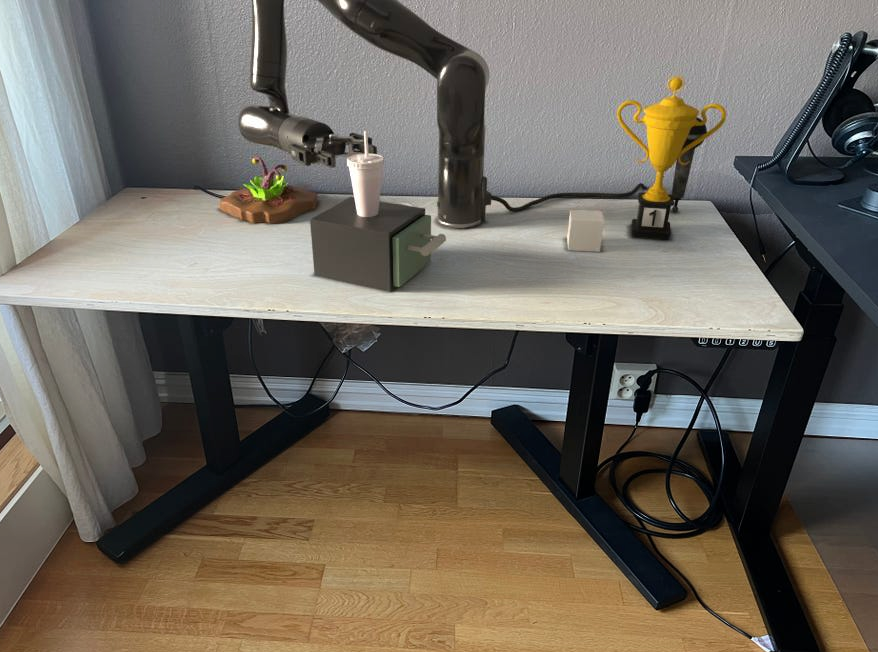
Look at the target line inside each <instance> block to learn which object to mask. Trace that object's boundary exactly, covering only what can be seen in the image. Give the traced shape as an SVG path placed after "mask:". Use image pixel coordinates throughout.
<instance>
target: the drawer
mask: <svg viewBox="0 0 878 652" xmlns="http://www.w3.org/2000/svg"><path fill="white" fill-rule="evenodd" d="M446 241H447V236H446V235H445V234H444V233H439V234H438V235H434V234H432V215H429V214H425V215H424V216H423V217H421V218H420V219H418V220H417V219H415V220H414V221H412V222H411V223H410V224H408V225H407V226H405V227H404V228H402V229H401V230H399V231H398V232H397V233H395V234H394V235H392V236H391V248H392V278H393V286H396V287H395V288H400V287H402V286H403V285H404V284H405V283H407V281H409V280H410V279H411V278H413V277H414V276H415V275H416V274H417V273H419V272H420V271H421V270H422V269H424V268H425V267H426V266H427V265H429V264H430V263H431V262H432V252H434V251H435V250H437V249H438V248H439V247H440V246H442V245H443V244H444V243H445V242H446Z"/></svg>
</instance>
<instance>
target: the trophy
mask: <svg viewBox="0 0 878 652" xmlns="http://www.w3.org/2000/svg"><path fill="white" fill-rule="evenodd" d="M685 84H686V81H685V79H684V77H683V76H681V75H673V76H672V77H670V78H669V79H668V80H667V85H666V86H667V89H668V90H669V91H670V92H671V93H673V94H672V95H671V96H666V97H664V98H663V99H662V100H661V101H660V102H656V103H653V104H650V105H647V106H645V107H644V108H643V107H642V105H641V103H640V102H639V101H637V100H632V99H631V100H626V101H623V102H622V103H621V104H620V105H619V106H618V108H617V111H616V117H617V121H618V123H619V125H620V127H621V128H622V130H624V132H625V133H626V134H627V135H628V136H629V137H630V138H631V139H632V140H633V141H634V142H635V143H636V144H637V145H638V146H639V147H640V148H642V149H643V151H644V153H646V156H645V158H644V159H641V160H640V159H639V158H638V157H636V161H637V162H638V163H644V162H646V161H648V160H649V163H650V165H651V167H652V168H654V170H655V171H656V175H655V181H654V183H653V185H652V186H651V187H649V188H648V189H647V190H646V191H641V192H638V194H637V202H638V209H637V215H636V218H632V220H631V223H630V224H631V225H630V236H631V237H632V238H636V239H637V238H638V239H647V240H648V239H649V240H662V241H669V240H671V234H672V229H671V222H670V221H669V220H670V219H669V218H670V213H671V210H672V207H673V206H674V203H675V200H674V198H673V195H671V194H672V193H668V192H667V189H666V188H665V187H664V184H663V183H664V178H665V176H664V173H665V172H667V171H669V169H671V168H673V166H674V165H676V161H677V158H678V162H679V163H680V164H682V165H686V164H688V163H689V162H690V161H689V162H687V163H683V162H681V161H680V157H681V155H682V154H683V153H684V152H686V151H687V150H689V149H691V148H692V147H694V146H695V145H697V144H699V143H700V142H702V141H703V140H704V141H705V140H706V139H708V138H709V137H711V136H712V135H714V133H716V132H718V130H719V129H720V128H722V126H723V125H724V123H725V122H726V118H727V112H726V111H727V110H726V109H725V107H724V106H723V105H722V104H719V103H710V104H707V105H705V106H704V107H703V108H702V109H701V112H700V110H698V108H696V107H694V106H693V105H689V104H687V103H685V101H684V99H683V98H681V97H678V96H676V93H679V92H681V91H682V90H683V88H684V87H685ZM627 106H634V107H636V108H637V111H636V112H635V114H634V115H633V117H632V118H633V121H634V122H635V123H637V124H644V126H645V127H646V133H647V135H646V136H647V145H646V144H645V143H644V142H643V141H642V140H641V139H640V138H639V137H638V136H637V134H635V133H634V132H633V131H632V129H630V127H629V126H628V125H627V124H626V123H625V121H624V120H623V118H622V110H624V108H626V107H627ZM709 109H716V110H718V111H719V112H720V113H721V118H720V120H719V122H718V123H716V125H715V126H714V127H713V128H711V129H710V130H709V131H708V130H707V133H706V134H704V135H703V136H701V137H700V138H698V139H697V140H695V141H694V142H692V143H691V144H689V145H688V146H686V147H685V148H684V149H682V147H683V145H684V143H685V141H686V138H687V136H688V134H689V132H690V129H691V128H692V127H693V126H702V125H704V124H705V125H706V124H707V122H708V117H707V115H706V112H707V111H708V110H709ZM642 111H643V112H644V117H642V118H639V116H640V115H641V113H642ZM699 114H700V115H701V119H702V122H698V121H697V120H696V118H697V117H698V116H699ZM704 141H703V142H704ZM681 149H682V150H681Z"/></svg>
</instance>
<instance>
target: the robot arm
mask: <svg viewBox="0 0 878 652" xmlns="http://www.w3.org/2000/svg"><path fill="white" fill-rule="evenodd" d="M316 1H317V2H318V3H319V4H321V5H322V7H324V8H325V9H326V11H328V12H329V14H331V15H332V16H333V18H335V19H336V21H338V22H339V23H341V24H342V25H343V26H344V27H346V28H347V29H348V30H350V31H351V32H352V33H353V34H355V35H357V36H358V37H359V38H361V39H362V40H364V41H366V43H368V44H370V45H372V46H374V47H376V48H377V49H379V50H381V51H383V52H386V53H389V54H391V55H393V56H396V57H399V58H401V59H403V60H406V61H409V62H410V63H413V64H414V65H416V66H418V67H420V68H421V69H423V70H425V72H427V73H428V74H429V75H431V77H433V78H435V79H436V81H437V82H436V83H437V84H436V123H437V128H438V177H437V178H438V179H437V181H438V182H437V183H438V185H437V195H438V196H437V201H436V208H437V217H436V218H437V223H438V224H440V225H441V226H443V227H447V228H452V229H468V228H469V229H470V228H474V227H476V226H479V225H481V224H482V223H486V213H487V212H486V211H487V206H491V205H492V201H495V202H497V203H500V204H501V205H503V207H504V208H505V209H506V210H507V211H509V212H511V213H512V212H513V213H516V212H521V211H524V210H526V209H529V208H530V207H532V206H535V205H538V204H541V203H543V202H545V201H548V200H552V199H558V198H575V197H576V198H607V199H608V198H611V199H612V198H613V199H615V198H616V199H617V198H618V199H620V198H628V197H631V196H633V195H635V194H636V193H637V192H638V191H639V190H640V189H642V190H643V191H644V190H646V191H647V190H648V188H647V186H646V185H645V184H644V183H642V182H640V183H638V184H637V185H636V186H635V187H634V188H633V189H632V190H630V191H628V192H627V191H626V192H620V193H619V192H618V193H617V192H616V193H613V192H612V193H609V192H559V193H557V192H556V193H551V194H548V195H545V196H542V197H540V198H537V199H534V200H531V201H529V202H527V203H525V204H523V205H521V206H518V207H513V206H511V205H510V204H509V203H508V201H506V200H505V199H504V198H502V197H499V196H495V195H493V194H492V192H490V191H489V190H487V189H488V177H486V175H484V172H485V149H486V148H485V145H486V122H485V111H486V107H485V106H486V89H487V87H488V85H489V82H490V77H491V75H490V74H491V73H490V69H489V65H488V64H487V61H486V60H485V58H484V57H483V56H482V55H481V54H479V52H477V51H475V50H473V49H471V48H469V47H468V46H465V45H463V44H461V43H459V42H457V41H456V40H454V39H452V38H450V37H448V36H446V35H445V34H443V33H441V32H440V31H438V30H437V29H435V28H434V27H433V26H431V25H430V24H429V23H427V22H426V21H425V20H424V19H423V18H421V17H420V16H419V15H418V14H416V13H415V12H414V11H412V10H411V9H410V8H408V7H407V6H406V5H405V4H403V3H402V2H401V1H399V0H316ZM250 47H251V48H250V63H249V64H250V65H249V87H250V89H251V90H252V91H254V92H256V93H260V94H263V95H265V96H266V97H267V100H268V104H269V105H259V104H258V105H257V104H250V105H247V106H245V107H243V108H242V109H241V110H240V111H239V114H238V117H237V127H238V130H239V132H240V134H241V136H242V137H243V138H244V139H245V140H247V141H248V142H250V143H254V144H258V145H262V146H269V147H274V148H276V149H279V150H281V151H283V152H287V154H289V155H291V160H292V161H295V162H297V163H299V164H301V165H303V166H305V167H309V166H311V165H317V166H320V165H323V166H326V167H328V168H330V169H333V168H336V166H337V160H336V159H337V158H339V157H341V158H348V157H350V156H352V155H356V154H365V140H364V134H360V133H355V132H350V133H349V135H339V134H337V133H335V132H334V130H333V129H332V128H331V127H330V126H329V125H328V124H326V123H324V122H322V121H318V120H315V119H312V118H309V117H306V116H300V115H295V114H293V113H290V112H291V111H290V109H289V102H288V95H287V90H286V79H287V78H286V77H287V67H288V66H287V65H288V64H287V63H288V39H287V29H286V21H285V0H251V45H250ZM347 146H348V151H346V149H347ZM368 154H377V155H378V147H377V146H376V145H374V144H373V137H370V136H368ZM644 185H645V186H644Z"/></svg>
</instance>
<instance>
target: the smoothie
mask: <svg viewBox="0 0 878 652" xmlns="http://www.w3.org/2000/svg"><path fill="white" fill-rule="evenodd" d="M368 133H369V132H368V130H364V131H363V136H364V140H365V154H356V155H352V156H350V157H346V166H347V167H348V168H349V174H350V180H351V186H352V191H353V192H352V193H353V197H354V198H355V203H356V209H357V215H359V216H361V217H373V216H376V215H378V211H379V201H381V200H380V198H381V188H382V177H383V167H384V166H385V163H386V162H385V157H384V156H383V155H381V154H378V153H377V154H368V137H369V136H368Z"/></svg>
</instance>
